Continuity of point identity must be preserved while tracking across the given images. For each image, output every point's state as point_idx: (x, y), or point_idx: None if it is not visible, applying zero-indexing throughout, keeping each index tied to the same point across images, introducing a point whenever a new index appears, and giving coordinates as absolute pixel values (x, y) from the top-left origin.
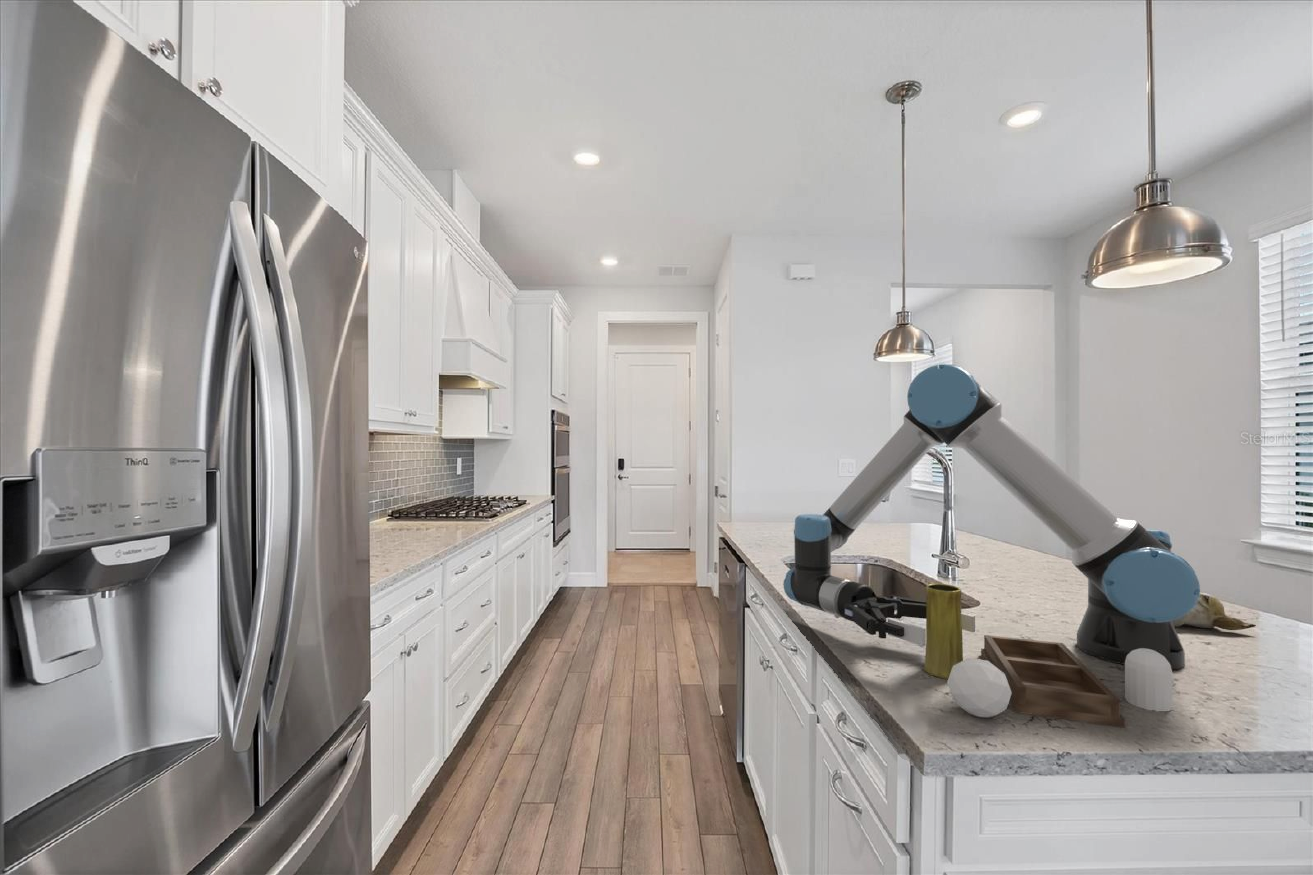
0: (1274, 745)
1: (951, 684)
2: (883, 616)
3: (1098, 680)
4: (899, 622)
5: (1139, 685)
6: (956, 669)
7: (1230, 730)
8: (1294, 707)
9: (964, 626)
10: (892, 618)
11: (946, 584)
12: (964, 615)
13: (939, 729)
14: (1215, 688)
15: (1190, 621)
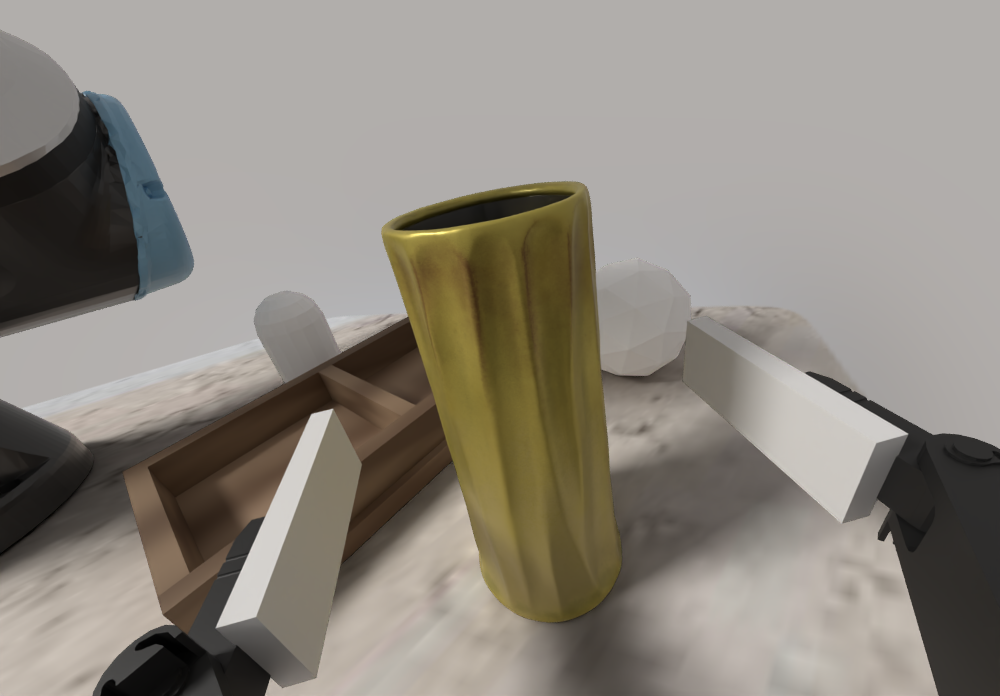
0: (348, 318)
1: (690, 316)
2: (961, 502)
3: (378, 334)
4: (810, 379)
5: (331, 337)
6: (677, 286)
7: (339, 332)
8: (194, 359)
9: (347, 483)
10: (859, 432)
11: (390, 229)
12: (324, 440)
13: (744, 336)
14: (162, 396)
15: None
